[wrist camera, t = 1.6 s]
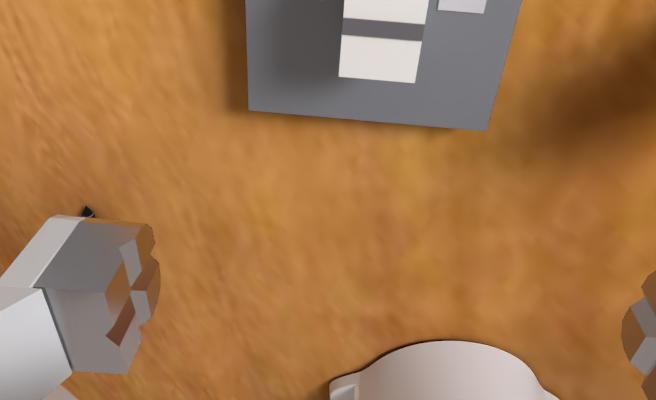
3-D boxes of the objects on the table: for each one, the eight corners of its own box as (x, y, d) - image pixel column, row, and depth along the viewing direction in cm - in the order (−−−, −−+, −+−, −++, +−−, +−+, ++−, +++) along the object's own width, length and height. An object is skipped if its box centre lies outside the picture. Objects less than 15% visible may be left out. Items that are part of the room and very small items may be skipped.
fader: (409, 47, 24) (414, 84, 20) (343, 42, 24) (338, 77, 21) (424, -48, 21) (433, -25, 18) (350, -55, 21) (346, -32, 18)
